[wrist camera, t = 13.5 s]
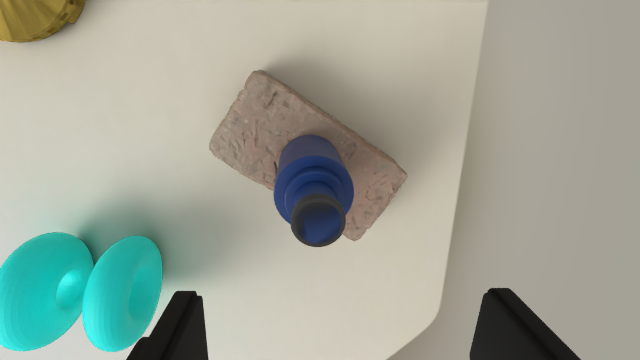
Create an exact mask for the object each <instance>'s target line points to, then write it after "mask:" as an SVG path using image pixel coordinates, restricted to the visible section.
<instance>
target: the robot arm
mask: <svg viewBox="0 0 640 360" xmlns="http://www.w3.org/2000/svg"><path fill="white" fill-rule="evenodd" d="M126 360H208V351H207V340H206V330H205V320H204V309H203V299H202V296H197V293H196V291H176V292H175V293H174V295H173V297H172V298H171V300H170V302H169V304H168V305H167V307H166V309H165V310H164V312H163V314H162V316H161V317H160V319H159V321H158V322H157V324H156V326H155V328H154V329H153V331H152V333H151V334H150V336H149V337H142V338H141V339H139V341H138V342H137V343H136V345H135V346H134V348H133V350H132V351H131V353H130V354H129V356H128V358H127V359H126ZM470 360H580V358H579V357H578V356H577V355H576V354H575V353H574V352H573V351H572V350H571V349H570V348H569V347H568V346H567V345H566V344H565V343H564V342H562V340H561V339H560V338H559V337H558V336H557V335H556V334H555V333H554V332H553V331H552V330H551V329H550V328H549V327H548V326H546V324H545V323H544V322H542V320H541V319H540V318H539V317H538V316H537V315H536V314H535V313H534V312H533V311H532V310H531V309H530V308H529V307H528V306H527V305H526V304H525V303H524V302H523V301H522V300H521V299H520V298H519V297H518V296H517V295H516V294H515V293H514V292H513V291H512V290H510V289H509V288H491V289H489V290H488V292H487V293H485V294H484V296H483V299H482V304H481V308H480V312H479V316H478V321H477V325H476V330H475V334H474V338H473V342H472V346H471V351H470Z"/></svg>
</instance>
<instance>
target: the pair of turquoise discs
mask: <svg viewBox="0 0 640 360" xmlns="http://www.w3.org/2000/svg"><path fill="white" fill-rule="evenodd" d="M162 274H163V268H162V259H161V255H160V252H159V250H158V248H157V246H156V245H155V244H154V242H153V241H151V240H150V239H148V238H146V237H143V236H129V237H126V238H123V239H121V240H119V241H117V242H116V243H114V244H113V245H112V246H110V247H109V248H108V249H107V250H106V251H105V252H104V254H103V255H102V256H101V257H100V259H99V260H98V262H97V263H96V265H95V267H94V266H93V260H92V256H91V254H90V252H89V250H88V248H87V246H86V245H85V244H84V243H83V242H82V241H81V240H80V239H78V238H77V237H75V236H73V235H70V234H66V233H59V232H53V233H47V234H42V235H39V236H37V237H35V238H32V239H30V240H29V241H27V242H25V243H24V244H22V245H21V246H20V247H19V248H18V249H16V250H15V251H14V252H13V253H12V254H11V255H10V256H9V257H8V259H7V260H6V261H5V262H4V263H3V265H2V266H1V268H0V345H2V346H3V347H5V348H8V349H11V350H14V351H30V350H35V349H38V348H41V347H43V346H46V345H48V344H50V343H52V342H53V341H55V340H56V339H58V338H59V337H61V336H62V335H63V334H64V333H65V332H66V331H67V330H68V329H69V328H70V327H71V326H72V325H73V324H74V323H75V322H76V320H77V319H78V317H79V316H80V314H81V313H82V318H83V325H84V329H85V332H86V334H87V337H88V338H89V340H90V341H91V342H92V343H93V345H94V346H96V347H97V348H99V349H101V350H103V351H107V352H116V351H120V350H123V349H126V348H128V347H129V346H131V345H132V344H134V343H135V342H136V341H137V340H138V339H139V338H140V337H141V336H142V335H143V333H144V332H145V330H146V329H147V327H148V325H149V324H150V322H151V320H152V318H153V315H154V313H155V310H156V307H157V304H158V300H159V296H160V292H161V286H162Z"/></svg>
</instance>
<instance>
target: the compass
mask: <svg viewBox="0 0 640 360" xmlns="http://www.w3.org/2000/svg"><path fill="white" fill-rule="evenodd" d="M85 1H86V0H0V40H2V41H11V42H31V41H37V40H41V39H44V38H47V37H49V36H51V35H52V34H54V33H56V32H57V31H59V30H60V29H61V28H62V27H63V26H64V25H65V24H66V23H67V22H70V23H75V21H76V20H77V18H78V17H79V15H80V13H81V11H82V9H83V7H84V4H85Z"/></svg>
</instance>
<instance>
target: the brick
mask: <svg viewBox="0 0 640 360" xmlns="http://www.w3.org/2000/svg"><path fill="white" fill-rule="evenodd" d="M303 135H317V136H320V137H323V138H325V139H327V140H328V141H329V142H330V143H332V144H333V146H334V147H335V148H336V150H337V152H338V154H339V156H340V158H341V159H342V161H343V163H344V165H345V167H346V169H347V171H348V173H349V175H350V177H351V179H352V182H353V185H354V199H353V203H352V206H351V208H350V210H349V211H348V213H347V214H346V216H345V217H346V225H345V229H344V231H343V233H342V234H343V235H345V236H346V237H347V238H349V239H350V240H353V241H356V240H358V239H360V238H361V236H362V235H363V234H364V233H365V231H366V230H367V229H369V228H370V227H371V226H372V224H373V223H374V222H375V221H376V219H377V218H378V217H379V216H380V215H381V213H382V212H383V211H384V210H385V208H386V207H387V206H388V204H389V202H390V201H391V199H392V198H393V196H394V195H395V194H396V192H397V191H398V189H399V188H400V187H401V185H402V184H403V182H404V181H405V180H406V179H407V173H406V172H405V171H404V170H403V169H402V168H401V167H400V166H399V165H398V164H397V163H396V162H395V161H394V160H393V159H392V158H391V157H389V156H388V155H386V154H384V153H383V152H382V151H380V150H379V149H377V148H376V147H374V146H372V145H371V144H369V143H368V142H367V141H366V140H364V138H362V137H360V136H358V135H357V134H356V133H355V132H353V131H351V130H350V129H348V128H347V127H346V126H344V125H342V124H341V123H339V122H338V121H336V120H335V119H333V118H332V117H331V116H329V115H328V114H326V113H325V112H324V111H322V110H321V109H320V108H318V107H317V106H315V105H313V104H312V103H310V102H308V101H307V100H305V99H304V98H303V97H301V96H300V95H299V94H297V93H295V92H294V91H292V90H291V89H290V88H289V87H287V86H286V85H285V84H283V83H281V82H280V81H278V80H276V79H275V78H273V77H272V76H270V75H268V74H267V73H265V72H264V71H261V70H259V71H254V72H252V74H251V75H250V76H249V77H248V79H247V81H246V83H245V86H244V89H243V90H241V91H240V93H239V94H238V97H237V99H236V100H235V102H234V103H233V105H232V106H231V108H230V110H229V112H228V114H227V116H226V118H225V119H224V120H223V121H222V122H221V124H220V125H219V127H218V128H217V130H216V132H215V133H214V135H213V137H212V139H211V141H210V147H209V150H211V151H212V153H213V155H214V156H215V157H217V158H218V159H220V160H221V161H223V162H225V163H226V164H228V165H229V166H231V167H232V168H233V169H235V170H237V171H239V172H240V173H241V174H243V175H244V176H246V177H248V178H250V179H251V180H253V181H256V182H258V183H261V184H263V185H264V186H266V187H267V188H269V189H271V190H274V186H275V181H276V175H277V170H278V165H279V160H280V156H281V153H282V151H283V149H284V148H285V146H286V145H287V144H288V143H289V142H290V141H292V140H293V139H295V138H297V137H300V136H303Z"/></svg>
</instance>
